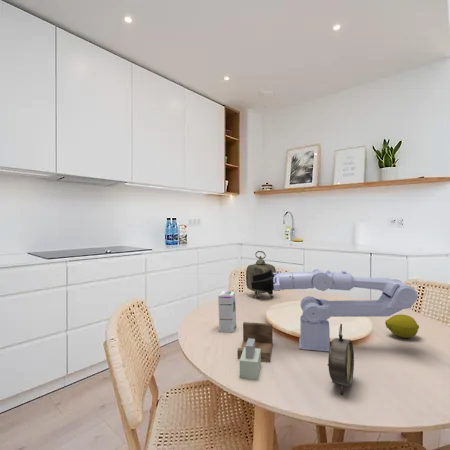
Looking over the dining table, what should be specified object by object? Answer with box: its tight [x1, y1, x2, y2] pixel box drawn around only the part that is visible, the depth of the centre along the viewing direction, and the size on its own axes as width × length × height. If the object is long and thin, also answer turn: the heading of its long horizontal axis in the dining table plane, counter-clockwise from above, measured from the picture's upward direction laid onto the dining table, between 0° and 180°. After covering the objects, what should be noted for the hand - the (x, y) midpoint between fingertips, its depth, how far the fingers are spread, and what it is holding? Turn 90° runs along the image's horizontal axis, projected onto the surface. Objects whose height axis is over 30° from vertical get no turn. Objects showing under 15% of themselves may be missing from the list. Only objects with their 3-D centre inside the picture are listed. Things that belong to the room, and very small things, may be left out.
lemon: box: [384, 314, 420, 339], centre depth 105 cm, size 11×8×8 cm
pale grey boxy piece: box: [239, 338, 262, 381], centre depth 84 cm, size 5×8×8 cm, turn 167°
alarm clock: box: [327, 323, 355, 396], centre depth 76 cm, size 11×5×16 cm, turn 148°
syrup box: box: [217, 290, 237, 333], centre depth 114 cm, size 6×6×14 cm
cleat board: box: [237, 321, 274, 363], centre depth 96 cm, size 10×12×7 cm
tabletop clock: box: [245, 250, 277, 299], centre depth 155 cm, size 14×9×25 cm, turn 43°
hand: (252, 282), depth 101 cm, fingers open, 7 cm apart
